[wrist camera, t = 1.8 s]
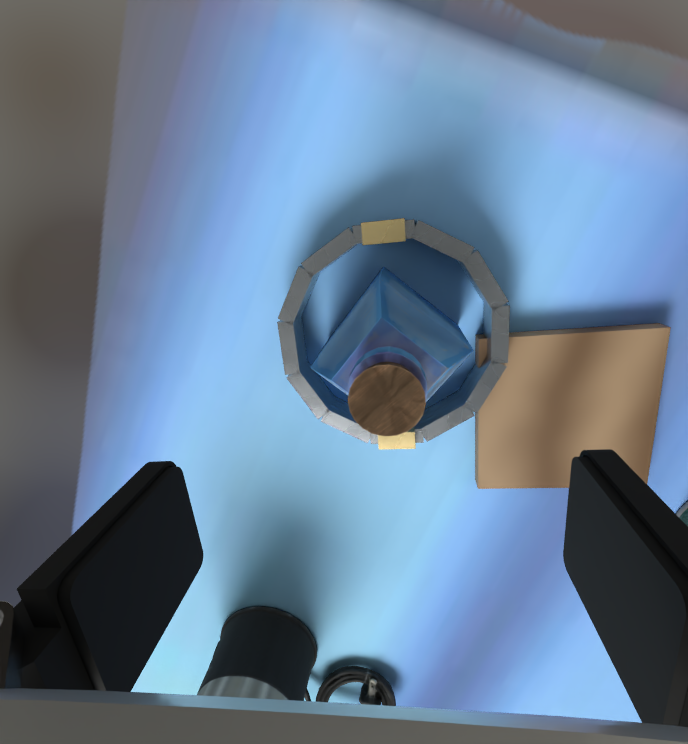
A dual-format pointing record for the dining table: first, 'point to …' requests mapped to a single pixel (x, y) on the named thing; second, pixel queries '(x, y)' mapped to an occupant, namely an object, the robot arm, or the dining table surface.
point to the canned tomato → (683, 513)
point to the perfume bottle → (391, 355)
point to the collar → (440, 413)
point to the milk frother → (278, 662)
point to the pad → (569, 403)
